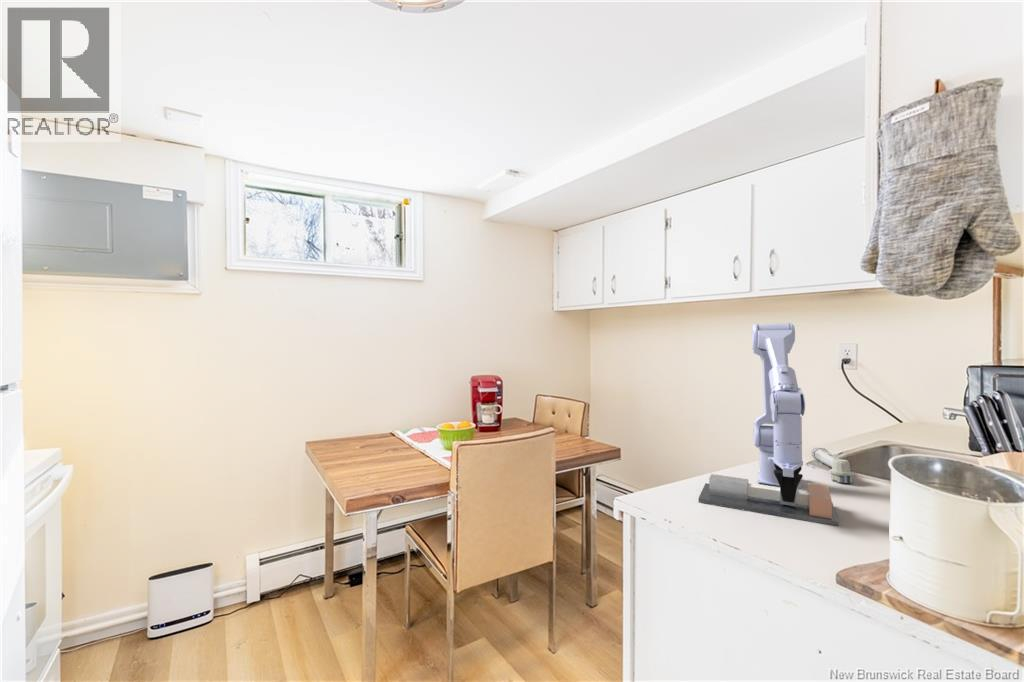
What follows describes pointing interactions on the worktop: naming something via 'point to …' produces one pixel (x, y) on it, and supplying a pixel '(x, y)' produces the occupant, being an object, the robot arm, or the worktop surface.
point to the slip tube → (776, 494)
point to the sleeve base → (754, 500)
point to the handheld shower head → (834, 465)
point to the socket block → (819, 500)
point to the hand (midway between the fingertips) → (788, 498)
